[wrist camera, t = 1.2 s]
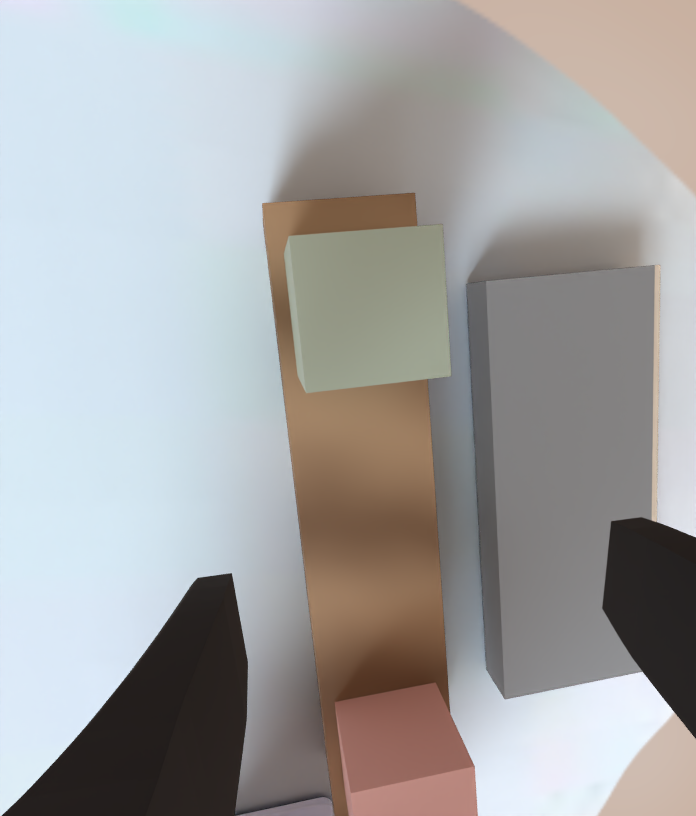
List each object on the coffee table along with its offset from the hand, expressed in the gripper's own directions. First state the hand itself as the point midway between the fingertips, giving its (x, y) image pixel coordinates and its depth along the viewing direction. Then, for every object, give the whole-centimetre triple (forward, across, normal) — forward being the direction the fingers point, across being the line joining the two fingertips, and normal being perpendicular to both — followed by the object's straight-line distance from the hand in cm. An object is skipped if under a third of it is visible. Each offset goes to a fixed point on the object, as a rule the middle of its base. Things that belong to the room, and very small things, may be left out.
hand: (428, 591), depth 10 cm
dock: (+12, -9, +5) cm, 16 cm away
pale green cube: (+10, 0, -4) cm, 10 cm away
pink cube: (+7, 0, +13) cm, 14 cm away
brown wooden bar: (+12, 0, +5) cm, 13 cm away
